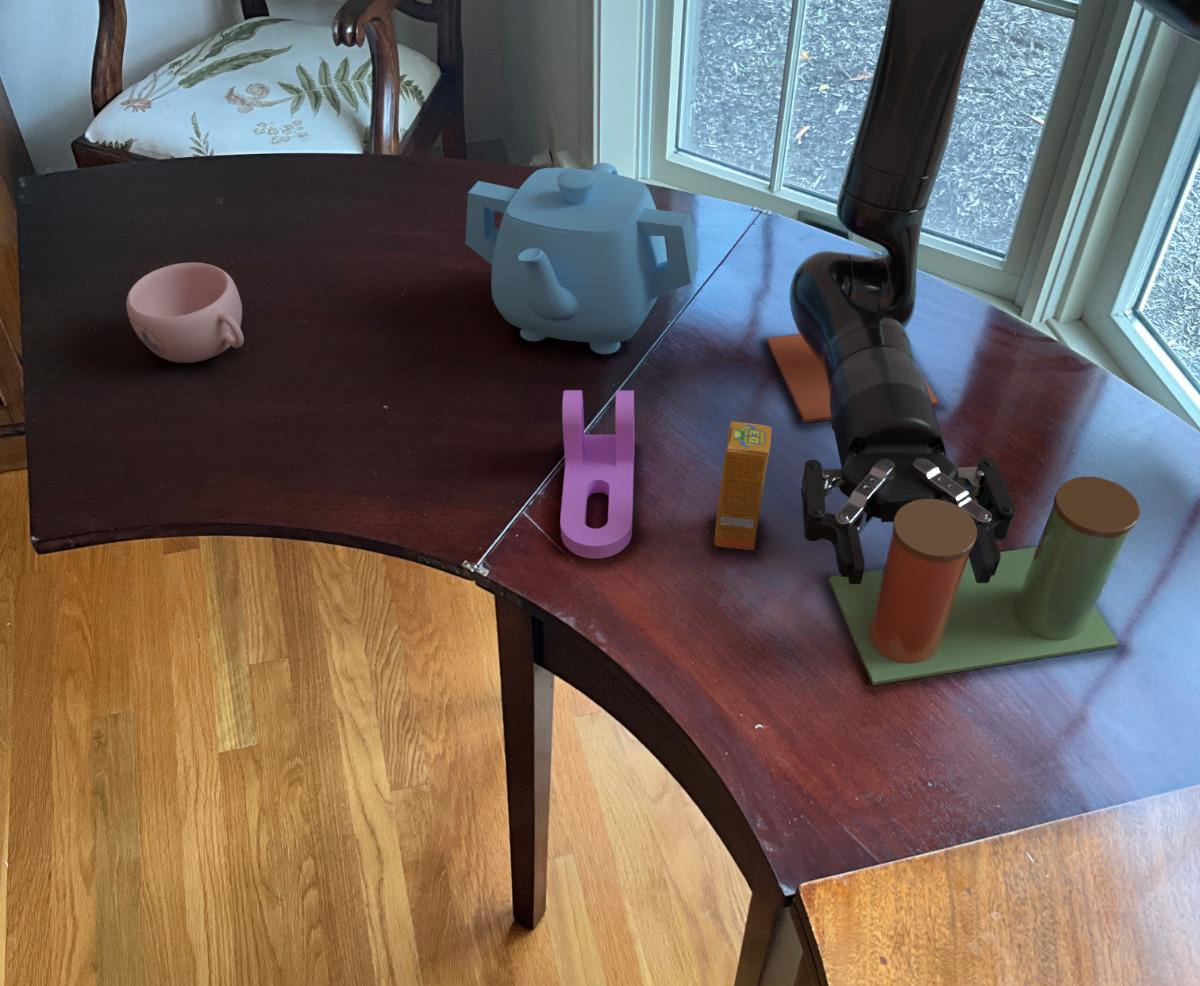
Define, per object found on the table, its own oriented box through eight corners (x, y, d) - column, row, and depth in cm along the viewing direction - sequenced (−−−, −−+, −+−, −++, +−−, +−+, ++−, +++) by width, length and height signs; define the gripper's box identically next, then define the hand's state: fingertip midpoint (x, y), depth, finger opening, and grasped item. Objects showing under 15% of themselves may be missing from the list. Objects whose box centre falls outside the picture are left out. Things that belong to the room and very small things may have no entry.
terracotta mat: (890, 326, 104) (891, 322, 104) (937, 405, 96) (938, 401, 96) (766, 341, 103) (767, 338, 103) (804, 423, 95) (804, 419, 95)
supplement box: (758, 552, 85) (769, 453, 78) (713, 548, 86) (720, 449, 78) (760, 522, 88) (772, 423, 80) (717, 518, 88) (724, 419, 80)
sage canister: (1068, 582, 82) (1116, 471, 74) (1101, 635, 79) (1155, 525, 70) (1001, 592, 82) (1042, 481, 73) (1031, 646, 78) (1077, 536, 70)
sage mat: (1055, 547, 85) (1056, 543, 85) (1117, 647, 78) (1118, 643, 78) (828, 580, 83) (829, 577, 83) (872, 685, 77) (873, 681, 76)
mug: (121, 354, 104) (98, 300, 100) (199, 302, 110) (181, 248, 105) (212, 395, 100) (192, 340, 96) (288, 339, 105) (273, 285, 101)
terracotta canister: (925, 603, 81) (958, 493, 73) (952, 658, 78) (990, 549, 69) (857, 614, 81) (882, 504, 72) (881, 669, 77) (910, 561, 69)
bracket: (568, 447, 94) (564, 380, 89) (634, 447, 94) (633, 380, 89) (559, 558, 86) (553, 492, 80) (631, 558, 85) (630, 492, 80)
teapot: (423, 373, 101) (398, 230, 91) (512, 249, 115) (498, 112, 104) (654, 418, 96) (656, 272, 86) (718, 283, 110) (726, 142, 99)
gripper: (794, 381, 82) (822, 537, 71) (988, 378, 82) (1045, 535, 71) (784, 458, 88) (808, 613, 77) (966, 455, 87) (1015, 611, 77)
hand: (922, 575), depth 74 cm, fingers open, 8 cm apart
